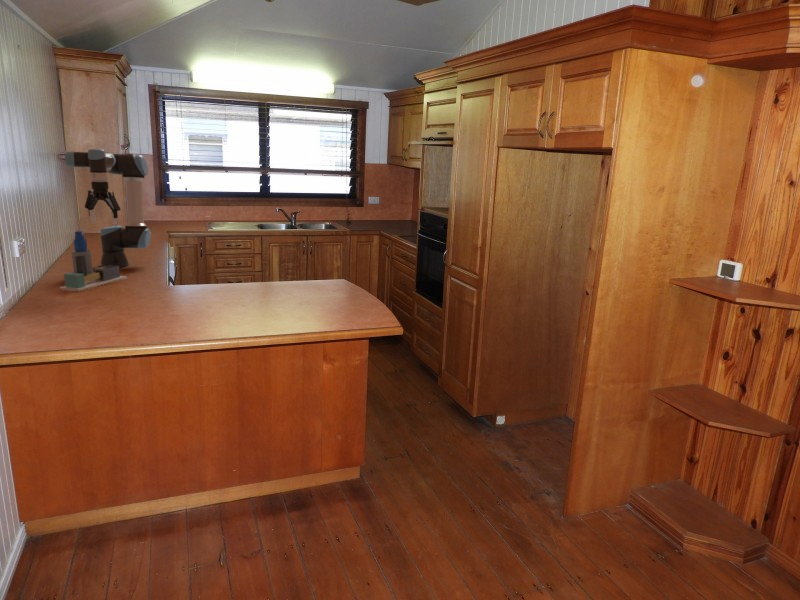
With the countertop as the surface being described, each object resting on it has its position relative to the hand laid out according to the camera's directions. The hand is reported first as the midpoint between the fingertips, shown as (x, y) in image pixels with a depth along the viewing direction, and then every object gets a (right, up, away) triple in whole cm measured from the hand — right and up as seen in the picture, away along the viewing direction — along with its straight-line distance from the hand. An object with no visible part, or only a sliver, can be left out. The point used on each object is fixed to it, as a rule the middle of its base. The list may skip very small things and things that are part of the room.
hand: (104, 223), depth 287 cm
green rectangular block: (-10, -32, -8) cm, 35 cm away
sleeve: (-4, -27, +11) cm, 30 cm away
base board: (-7, -31, +4) cm, 31 cm away
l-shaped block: (-8, -29, -1) cm, 30 cm away
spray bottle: (-19, -27, +16) cm, 37 cm away
